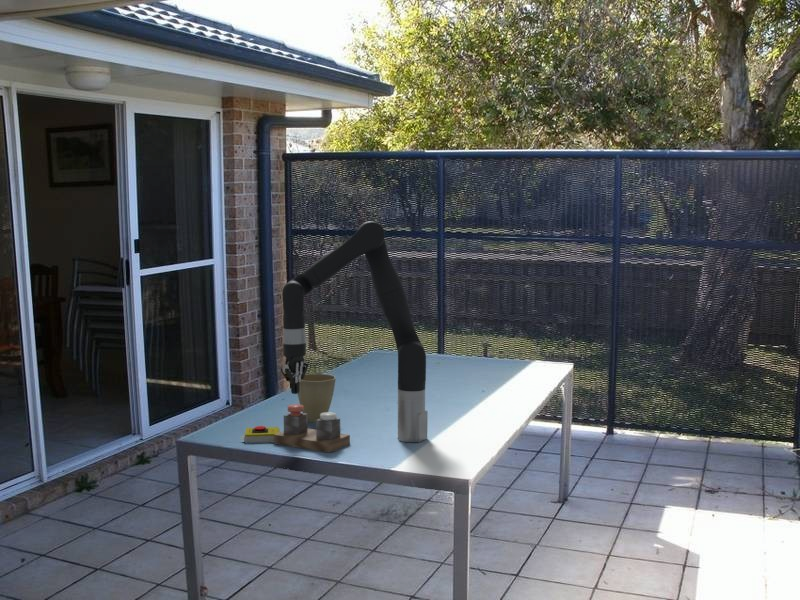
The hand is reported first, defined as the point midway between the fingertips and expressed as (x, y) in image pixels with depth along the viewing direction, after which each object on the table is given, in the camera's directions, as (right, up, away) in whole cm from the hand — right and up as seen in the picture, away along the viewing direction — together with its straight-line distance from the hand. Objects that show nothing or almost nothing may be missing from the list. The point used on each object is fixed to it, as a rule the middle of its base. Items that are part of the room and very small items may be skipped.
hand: (295, 393), depth 268 cm
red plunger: (0, -11, +1) cm, 11 cm away
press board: (+6, -16, -1) cm, 17 cm away
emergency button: (-11, -17, +5) cm, 21 cm away
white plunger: (+11, -13, -5) cm, 18 cm away
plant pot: (+4, -14, +30) cm, 33 cm away
